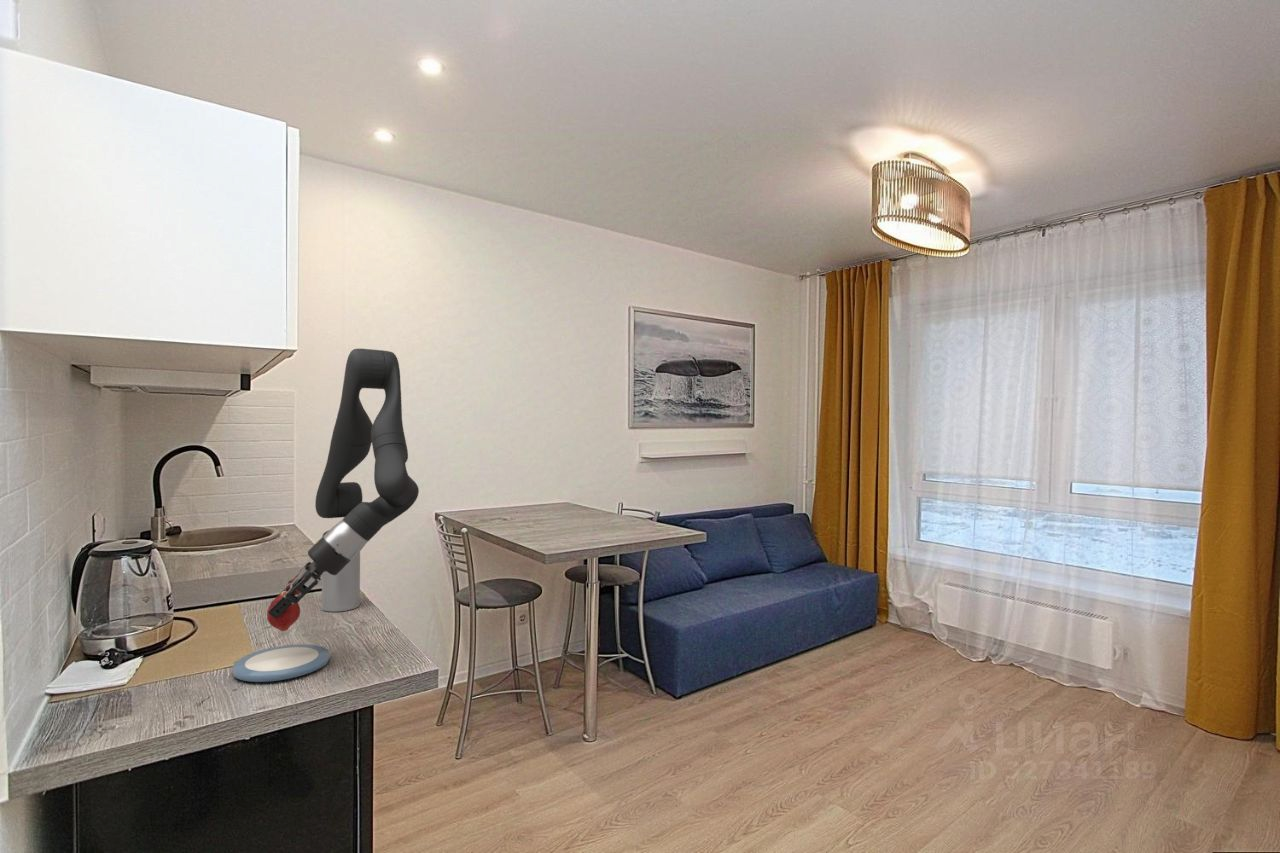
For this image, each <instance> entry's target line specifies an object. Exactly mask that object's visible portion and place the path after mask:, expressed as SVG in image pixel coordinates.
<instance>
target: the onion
mask: <svg viewBox="0 0 1280 853" xmlns="http://www.w3.org/2000/svg"><path fill="white" fill-rule="evenodd" d="M282 591H283V590H282ZM282 591H281V592H282ZM281 592H280V593H281ZM280 593H279V594H280ZM285 593H287V591H283V592H282V593H281V594H280V596H279V597H278V598H276V597H275V598H276V599H275V598H274V599H275V600H274V599H273V600H274V601H273V600H272V601H273V602H272V601H271V602H272V603H270V604H269V606H268V608H267V613H266V616H267V621H268V623H269V625H271V626H272V627H273V628H275V629H277V630H279V631H280V632H286V631H288V629H289V628H290V627H291V626H293V625H294V624H295V623H296V622H297V621H298V619H299V617H300V613H301V607H300V604H299V602H298V603H296V604H292V605H291V606H290V607H289V608H288V609H287V610H286V611H285V612H284V613H283V614H282V615H281V616H280V617H279V618H274V617H273V616H271V615H270V614H269V610H270V609H271V608H272V607H273V606H274V605H275V604H276V603H277V602H278V601H279V600H280V599H281V598H282V597H283V596H284V594H285Z"/></svg>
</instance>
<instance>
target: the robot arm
mask: <svg viewBox="0 0 1280 853" xmlns="http://www.w3.org/2000/svg"><path fill="white" fill-rule="evenodd" d="M397 357H398V356H397V355H396V354H395V353H394V352H392V351H389V350H384V349H383V350H382V349H370V348H354V349H352V350H350V353H349V354H348V356H347V359H346V363H345V370H344V376H343V384H342V390H341V397H340V398H341V399H340V404H339V408H338V412H337V415H336V419H335V424H334V427H333V431H332V436H331V439H330V444H329V451H328V453H327V454H328V455H327V459H326V464H325V467H324V471H323V474H322V476H321V478H320V482H319V485H318V489H317V490H316V496H315V505H314V506H315V507H314V508H315V512H316V514H317V515H318V517H320V518H322V519H337V518H339V519H340V518H342V519H341V520H339V522H337V523H336V524H335V525H333V526H332V527H331V528H330V529H329V530H327V531H325V532H323V534H322V537H320V539H319V540H317V542H315V544H314V545H312V546H311V548H310V549H309V550H307V555H308V556H309V558H310V559H311V561H312V562H311V561H308V562H307V563H306V564H304V565H303V566H302V567H301V568H300V570H299V571H298V572H297V573H296V574H295V575H293V576H292V577H291V580H288V582H287V584H286V585H285V586H284V589H283V590H282V591H281V592H279V593H278V595H277V596H276V597H275V598H273V600H272V601H271V603H272V602H273V601H274V600H275V599H276V598H278V597H279V596H280V594H281V593H282V592H283V591H287V593H285V594H284V596H283V597H282V598H281V599H280V600H279V601H278V602H277V603H276V604H275V605H274V606H273V607H272V608H271V609H270V610H269V614H270V615H271V616H273V617H274V618H279V617H280V616H281V615H282V614H283V613H284V612H285V611H286V610H287V609H288V608H289V607H290V606H291V605H292V604H296V603H298V604H299V603H300V601H301V600H302V599H303V598H304V597H305V596H306V595H307V594H308V593H309V592H310V591H311V590H312V589H313V588H314V587H316V586H317V585H318V584H319V582H320V581H321V610H322V611H325V612H344V611H350V610H354V609H357V608H358V607H360V605H361V551H362V550H363V548H364V547H365V546H366V545H367V543H368V542H369V541H370V540H371V539H372V538H374V537H375V535H376V534H377V533H379V531H380V530H381V529H382V528H383V527H385V526H386V525H388V524H389V523H391V522H392V521H394V520H395V519H396V518H398V517H399V516H401V515H403V514H404V513H405V512H407V511H408V510H409V509H411V507H412V506H413V505H414V504H415V502H416V501H417V499H418V497H419V491H420V490H419V486H418V484H417V483H416V481H415V480H414V479H412V477H411V476H410V475H409V474H408V471H407V464H406V463H407V462H408V458H409V453H408V451H409V450H408V445H407V442H406V441H407V440H406V436H405V432H404V426H403V412H402V411H403V409H402V385H401V370H400V363H399V360H398V358H397ZM362 389H371V390H372V389H375V390H384V394H385V397H384V401H383V404H382V406H381V408H380V410H379V412H378V414H377V415H376V417H375V419H374V421H373V422H372V420H371V418H370V416H369V414H368V413H367V412H366V410H365V408H364V406H363V404H362V401H361V399H360V394H361V393H360V392H361V390H362ZM371 446H372V450H373V457H374V472H373V477H374V478H373V479H374V486H375V490H376V491H377V494H378V495H379V496H378V497H376V498H375V499H373V500H372V501H371V502H368V501H363V490H362V487H361V485H360V484H359V483H358V482H355V481H354V482H353V481H352V482H351V481H350V482H342V480H343V479H344V478H345V477H346V476H347V475H348V474H349V473H351V472H352V471H353V470H354V469H355V468H357V467H358V466H359V465H361V463H362V462H363V461H364V460H365V459H366V458H367V456H368V455H369V452H370V451H371ZM271 603H270V604H271Z"/></svg>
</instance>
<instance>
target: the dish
mask: <svg viewBox="0 0 1280 853" xmlns="http://www.w3.org/2000/svg"><path fill="white" fill-rule="evenodd" d="M328 662H330V650H329V649H328V648H327V647H324V646H322V645H317V644H309V643H308V644H307V643H305V644H304V643H303V644H300V643H297V644H288V645H286V644H285V645H280V646H279V645H278V646H274V647H270V648H269V647H268V648H265V649H260V650H257V651H254V652H251V653H249V654H246V655H244V656H243V657H241V658H239V659H238V660H236V661H235V662H234V663H233V665H232V675H233V677H234V678H236V679H238V680H241V681H246V682H253V683H262V682H263V683H264V682H265V683H266V682H275V681H282V680H289V679H294V678H298V677H301V676H305V675H308V674H310V673H313V672H316V671H318V670H320V669H321V668H323V667H324V666H326V665H327V664H328Z"/></svg>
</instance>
